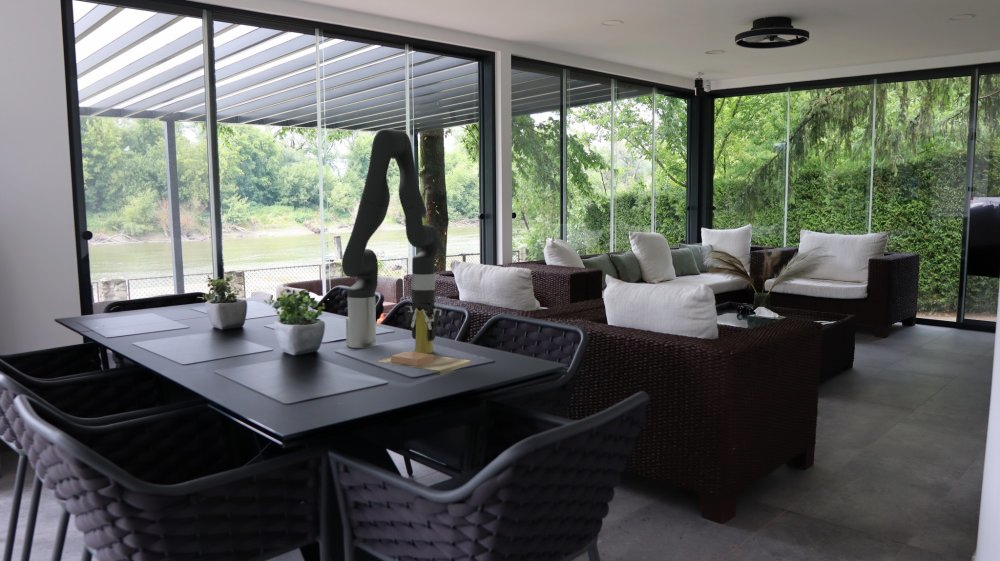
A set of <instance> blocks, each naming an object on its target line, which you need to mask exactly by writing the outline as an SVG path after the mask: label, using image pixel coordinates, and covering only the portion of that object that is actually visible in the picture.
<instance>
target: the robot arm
mask: <svg viewBox="0 0 1000 561" xmlns="http://www.w3.org/2000/svg"><path fill="white" fill-rule="evenodd" d="M413 153H414V152H413V147H412V143H411V139H410V137H409V135H408V134H407V132H405V131H404V130H402V129H396V128H395V129H392V128H382V129H380V130H378V131H377V132H376V133H375V136H374V138H373V141H372V146H371V151H370V158H369V165H368V169H367V175H366V178H365V182H364V186H363V191H362V194H361V197H360V199H359V200H360V202H359V204H358V209H357V214H356V217H355V220H354V224H353V228H352V231H351V233H350V237H349V240H348V242H347V245H346V246H345V250H344V252H343V255H342V260H341V269H342V271H343V273H344V275H345V276H346V277H348V278H357V279H356V281H355V282H354V283H353V285H351V286H350V287H348V289H347V318H346V319H345V335H346V336H345V338H346V346H347V347H349V348H351V349H368V348H372V347H376V346H377V333H376V332H377V329H376V328H377V321H376V319H377V318H376V316H377V315H376V292H377V288H378V278H379V277H378V276H379V262H378V257H377V254H376V253H375V251H374V250H372V249H369V248H367V245H368V242H369V240H370V239H371V238H372V237H373V235H374V234H375V233H376V231H377V230H378V228H380V226H381V225H382V223H384V220H385V218H386V216H387V213H388V209H389V205H390V201H391V195H390V193H391V192H390V189H389V185H388V179H387V178H388V170H389V166H390V162H391V160H392V159H393V160H395V163H396V164H397V166H398V171H399V185H398V198H399V201H400V205H401V207H402V211H403V213H404V217H405V220H404V221H405V234H406V238H407V240H408V242H409V244H410V245H411V246H412V247H413V248H417V249H419V251H418V253H417V254H416V255H414V256H413V258H412V261H411V265H412V266H411V267H412V268H411V270H412V272H411V302H412V305H409V306H405V307H404V308H403V309H404V316H405V322H406V325H407V326H410V327H411V337H412V339H413V340H415V338H416V310H418V311H424V312H423V314H425V316H426V317H425V322H426V323H427V325H428V328H429V330H428V341H435V338H436V329H438V328H441V325H442V321H443V320H442V318H443V312H444V311H443V309H441V308H440V309H438V308H436V307H435V303H436V302H435V301H436V278H435V259H436V255H437V253H438V252H437V251H438V247H439V241H440V240H439V231H438V230H437V228H436V226H434V225H431V224H423V223H424V221H423V219H424V217H425V216H426V215H427V209H426V206H425V205H426V204H425V202H424V199H423V196H422V193H421V189H420V187H419V182H418V178H417V171H416V165H415V159H414V154H413ZM425 311H427V313H426V312H425ZM429 317H432V319H430V320H429Z"/></svg>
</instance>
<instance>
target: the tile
mask: <svg viewBox="0 0 1000 561" xmlns="http://www.w3.org/2000/svg"><path fill="white" fill-rule="evenodd" d="M434 356H435V355H434V354H433V353H426V354H425V353H418V352H415V351H410V350H406V351H403V352H399V353H396V354H392V355H391V356H390V357H391V362H393V363H399V364H406V365H413V366H420V365H423V364H426V363H429V362H432V361H434Z"/></svg>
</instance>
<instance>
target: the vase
mask: <svg viewBox="0 0 1000 561" xmlns="http://www.w3.org/2000/svg"><path fill="white" fill-rule="evenodd" d="M423 312H424V311H418V310H416V338H415V339H414V340H415V346H414V352H418V353H425V354H433V353H434V344H433V343H434V342H433V341H434V340H433V341H428V330H429V328H428V325H427V323H426V322H425V317H426V316H425V314H423ZM425 312H426V313H427V311H425ZM430 319H432V317H429V320H430Z"/></svg>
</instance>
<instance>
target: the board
mask: <svg viewBox="0 0 1000 561" xmlns="http://www.w3.org/2000/svg"><path fill="white" fill-rule="evenodd" d="M375 362H377V363H384V364H385V363H386V364H391V365H395V366H396V365H398V366H404V367H409V368H410V367H411V368H416V369H417V368H418V369H424V370H425V369H426V370H432V371H437V372H433V373H432V374H433V375H439V376H440V375H444V374H447V373H450V372H453V371H456V370H459V369H461V367H462V368H464V366H465V367H467V365H468V366H470V365H472V361H471V359H461V358H456V357H455V358H454V357H447V356H441V355H434V361H432V362H429V363H426V364H423V365H420V366H413V365H406V364H399V363H393V362H391V356H390V357H386V358H383V359H379V360H376V361H375Z"/></svg>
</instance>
